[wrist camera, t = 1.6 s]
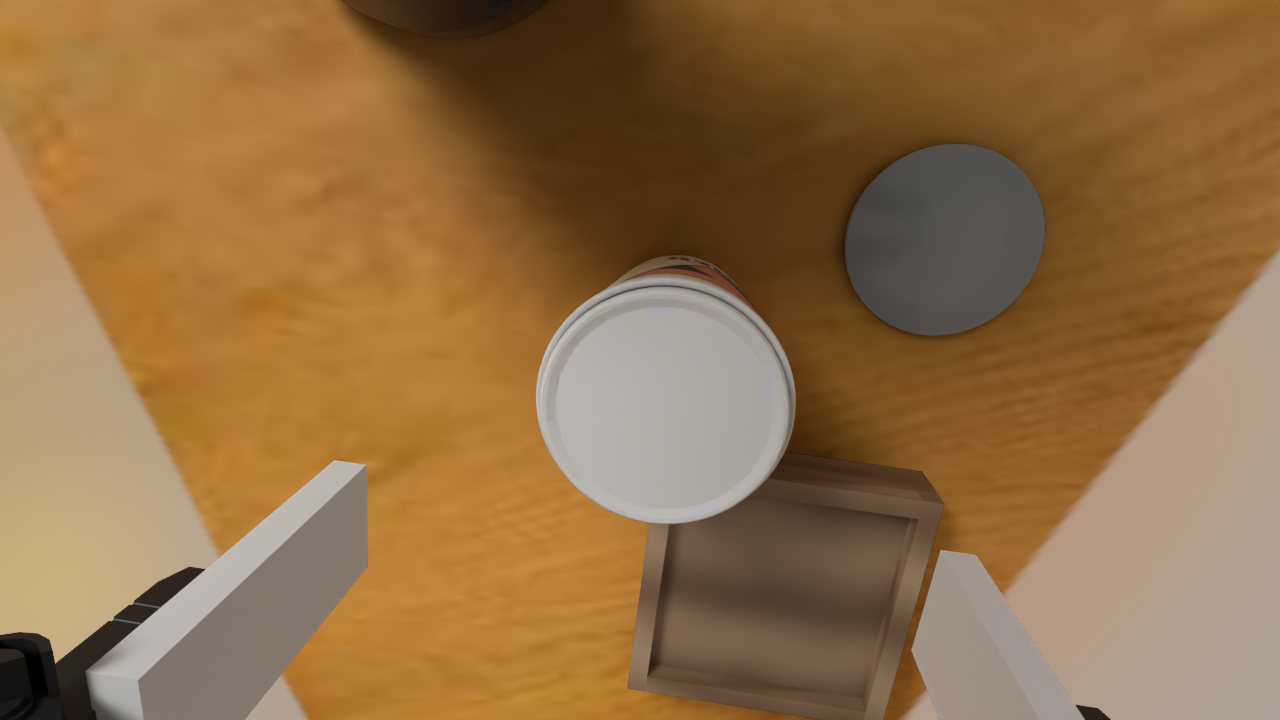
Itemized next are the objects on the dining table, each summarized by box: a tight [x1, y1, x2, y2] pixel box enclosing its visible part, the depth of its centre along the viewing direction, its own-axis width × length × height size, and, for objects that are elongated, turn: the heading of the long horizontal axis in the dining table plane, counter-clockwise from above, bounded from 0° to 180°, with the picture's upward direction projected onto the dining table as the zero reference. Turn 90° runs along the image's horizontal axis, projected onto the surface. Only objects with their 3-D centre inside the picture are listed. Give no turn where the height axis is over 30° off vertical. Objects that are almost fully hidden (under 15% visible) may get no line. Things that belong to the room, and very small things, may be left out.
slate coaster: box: [844, 144, 1045, 336], centre depth 32 cm, size 9×9×1 cm
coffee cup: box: [536, 255, 796, 524], centre depth 29 cm, size 9×9×12 cm
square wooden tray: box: [627, 452, 944, 720], centre depth 37 cm, size 14×14×4 cm
